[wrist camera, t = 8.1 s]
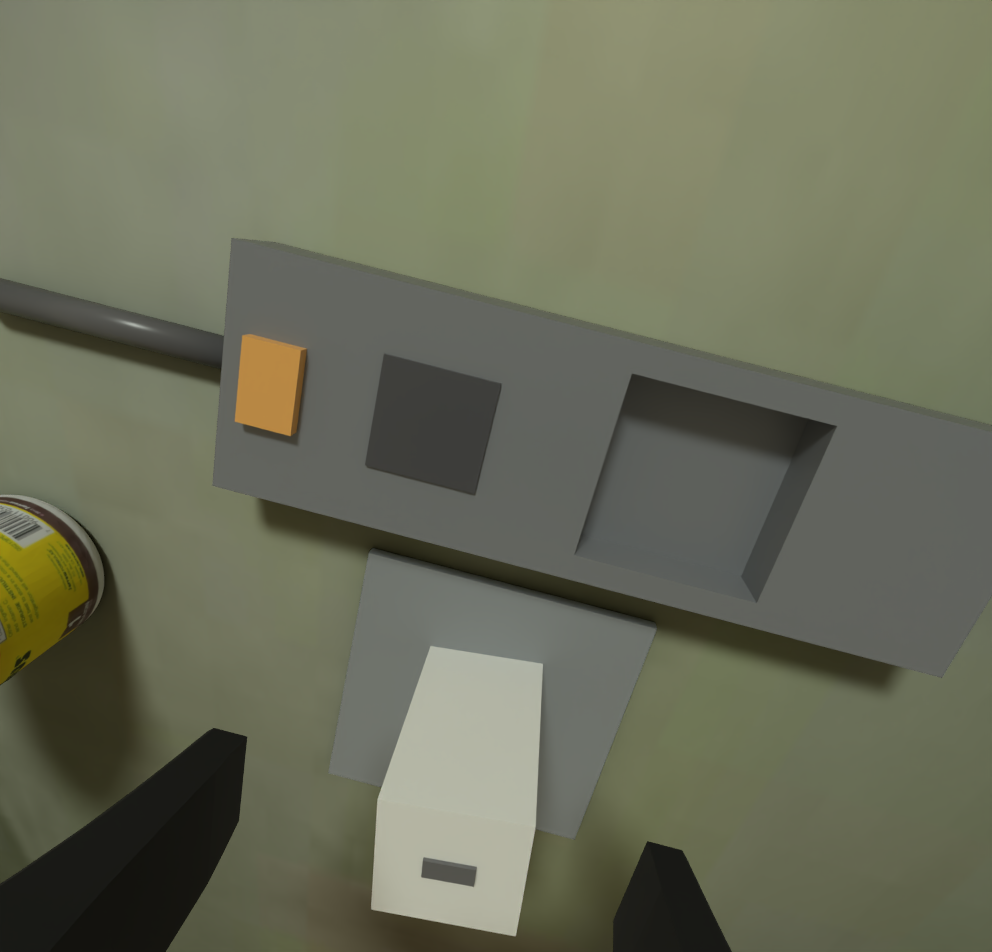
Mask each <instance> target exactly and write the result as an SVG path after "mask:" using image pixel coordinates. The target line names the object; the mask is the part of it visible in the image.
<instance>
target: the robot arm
mask: <svg viewBox="0 0 992 952" xmlns="http://www.w3.org/2000/svg"><path fill="white" fill-rule="evenodd" d="M246 743H247V737H246V736H243V735H239V734H235V733H231V732H227V731H223V730H220V729H216V728H213V729H211V730H209V731H207V732H206V733H205V734H204V735H203V736H201V737H200V738H199V739H198V740H196V741H195V742H194V743H193V744H191V745H190V746H189V747H188V748H187V749H185V750H184V751H183V752H182V753H180V754H179V755H178V756H177V757H175V758H174V759H173V760H172V761H170V762H169V763H168V764H166V765H165V766H164V767H163V768H161V769H160V770H159V771H158V772H156V773H155V774H154V775H152V776H151V777H150V778H149V779H147V780H146V781H145V782H143V783H142V784H141V785H140V786H138V787H137V788H136V789H134V790H133V791H132V792H130V793H129V794H128V795H126V796H125V797H124V798H122V799H121V800H120V801H118V802H117V803H116V804H114V805H113V806H111V807H110V808H109V809H107V810H106V811H105V812H103V813H102V814H101V815H99V816H98V817H97V818H95V819H94V820H93V821H91V822H90V823H89V824H87V825H86V826H84V827H83V828H82V829H80V830H79V831H77V832H76V833H75V834H73V835H72V836H70V837H69V838H67V839H66V840H64V841H63V842H61V843H60V844H59V845H57V846H56V847H54V848H53V849H51V850H50V851H48V852H47V853H45V854H44V855H43V856H41V857H40V858H38V859H37V860H35V861H34V862H32V863H31V864H29V865H28V866H27V867H25V868H24V869H22V870H21V871H19V872H18V873H16V874H15V875H13V876H12V877H10V878H9V879H7V880H5V881H4V882H2V883H1V884H0V952H166V950H167V949H168V947H169V945H170V944H171V942H172V941H173V939H174V937H175V936H176V934H177V933H178V931H179V929H180V928H181V926H182V924H183V923H184V921H185V920H186V918H187V916H188V915H189V913H190V912H191V910H192V908H193V907H194V905H195V903H196V902H197V900H198V899H199V897H200V895H201V894H202V892H203V890H204V889H205V887H206V885H207V884H208V882H209V880H210V878H211V876H212V874H213V872H214V870H215V868H216V866H217V864H218V862H219V860H220V858H221V856H222V854H223V852H224V850H225V848H226V846H227V844H228V842H229V840H230V838H231V836H232V834H233V832H234V830H235V828H236V826H237V823H238V821H239V814H240V804H241V794H242V784H243V773H244V763H245V753H246ZM613 952H732V951H731V949H730V947H729V945H728V943H727V941H726V939H725V937H724V935H723V933H722V931H721V929H720V927H719V925H718V923H717V921H716V919H715V917H714V915H713V913H712V911H711V909H710V907H709V905H708V902H707V900H706V898H705V896H704V894H703V892H702V890H701V888H700V886H699V884H698V881H697V879H696V877H695V875H694V873H693V871H692V869H691V867H690V865H689V862H688V860H687V858H686V856H685V855H684V853H683V851H682V850H679V849H675V848H671V847H667V846H663V845H660V844H656V843H652V842H648V841H647V843H646V846H645V848H644V850H643V853H642V855H641V857H640V860H639V862H638V864H637V866H636V869H635V871H634V873H633V876H632V878H631V880H630V883H629V885H628V887H627V890H626V892H625V894H624V897H623V899H622V901H621V904H620V906H619V908H618V911H617V913H616V915H615V918H614V920H613Z"/></svg>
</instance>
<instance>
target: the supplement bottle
mask: <svg viewBox="0 0 992 952" xmlns="http://www.w3.org/2000/svg"><path fill="white" fill-rule="evenodd" d="M103 589H104V571H103V565H102V561H101V558H100V555H99V553H98V551H97V549H96V547H95V545H94V543H93V542H92V540H91V538H90V537H89V536H88V534H87V533H86V532H85V531H84V529H83V528H82V527H81V526H80V525H79V524H78V523H77V522H76V521H75V520H74V519H72V518H71V517H70V516H69V515H67V514H66V513H65V512H63V511H62V510H60V509H58V508H57V507H55V506H53V505H51V504H49V503H46V502H44V501H41V500H39V499H35V498H32V497H27V496H21V495H0V685H1V684H3V683H4V682H6V681H7V680H9V679H10V678H11V677H12V676H14V675H15V674H16V673H17V672H19V671H20V670H21V669H22V668H24V667H25V666H26V665H28V664H29V663H30V662H32V661H33V660H34V659H36V658H37V657H38V656H40V655H41V654H42V653H44V652H45V651H46V650H48V649H49V648H50V647H52V646H53V645H54V644H56V643H57V642H58V641H60V640H61V639H62V638H64V637H65V636H67V635H68V634H69V633H71V632H72V631H73V630H75V629H76V628H77V627H78V626H79V625H81V624H82V623H83V622H84V621H86V620H87V619H88V618H89V617H90V616H91V614H92V613H93V612H94V610H95V609H96V607H97V606H98V604H99V602H100V599H101V596H102V593H103Z"/></svg>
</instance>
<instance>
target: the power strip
mask: <svg viewBox="0 0 992 952" xmlns="http://www.w3.org/2000/svg"><path fill="white" fill-rule="evenodd" d="M0 312H3V313H7V314H11V315H15V316H19V317H22V318H26V319H30V320H34V321H38V322H42V323H46V324H49V325H53V326H57V327H61V328H65V329H69V330H73V331H76V332H80V333H84V334H88V335H92V336H96V337H99V338H103V339H107V340H111V341H115V342H119V343H123V344H126V345H130V346H134V347H138V348H142V349H146V350H150V351H153V352H157V353H161V354H165V355H169V356H173V357H176V358H180V359H184V360H188V361H192V362H196V363H200V364H203V365H207V366H211V367H215V368H219V369H221V382H220V395H219V408H218V421H217V434H216V447H215V460H214V473H213V486H216V487H219V488H223V489H227V490H231V491H234V492H238V493H242V494H246V495H250V496H253V497H257V498H261V499H265V500H269V501H272V502H276V503H280V504H284V505H288V506H291V507H295V508H299V509H303V510H307V511H310V512H314V513H318V514H322V515H326V516H329V517H333V518H337V519H341V520H345V521H348V522H352V523H356V524H360V525H364V526H367V527H371V528H375V529H379V530H383V531H386V532H390V533H394V534H398V535H402V536H405V537H409V538H413V539H417V540H421V541H424V542H428V543H432V544H436V545H440V546H443V547H447V548H451V549H455V550H459V551H462V552H466V553H470V554H474V555H477V556H481V557H485V558H489V559H493V560H496V561H500V562H504V563H508V564H512V565H515V566H519V567H523V568H527V569H531V570H534V571H538V572H542V573H546V574H550V575H553V576H557V577H561V578H565V579H569V580H572V581H576V582H580V583H584V584H588V585H591V586H595V587H599V588H603V589H607V590H610V591H614V592H618V593H622V594H626V595H629V596H633V597H637V598H641V599H645V600H648V601H652V602H656V603H660V604H664V605H667V606H671V607H675V608H679V609H683V610H686V611H690V612H694V613H698V614H702V615H705V616H709V617H713V618H717V619H720V620H724V621H728V622H732V623H736V624H739V625H743V626H747V627H751V628H755V629H758V630H762V631H766V632H770V633H774V634H777V635H781V636H785V637H789V638H793V639H796V640H800V641H804V642H808V643H812V644H815V645H819V646H823V647H827V648H831V649H834V650H838V651H842V652H846V653H850V654H853V655H857V656H861V657H865V658H869V659H872V660H876V661H880V662H884V663H888V664H891V665H895V666H899V667H903V668H907V669H910V670H914V671H918V672H922V673H926V674H929V675H933V676H937V677H941V678H942V677H943V675H944V674H945V672H946V670H947V669H948V667H949V665H950V664H951V662H952V660H953V659H954V657H955V656H956V654H957V652H958V651H959V649H960V647H961V646H962V644H963V642H964V641H965V639H966V637H967V636H968V634H969V633H970V631H971V629H972V628H973V626H974V624H975V623H976V621H977V619H978V618H979V616H980V614H981V613H982V611H983V610H984V608H985V606H986V605H987V603H988V601H989V600H990V598H991V596H992V425H989V424H985V423H981V422H977V421H973V420H969V419H965V418H961V417H957V416H953V415H950V414H946V413H942V412H938V411H934V410H930V409H926V408H922V407H918V406H914V405H910V404H906V403H903V402H899V401H895V400H891V399H887V398H883V397H879V396H875V395H871V394H867V393H863V392H859V391H856V390H852V389H848V388H844V387H840V386H836V385H832V384H828V383H824V382H820V381H816V380H813V379H809V378H805V377H801V376H797V375H793V374H789V373H785V372H781V371H777V370H773V369H769V368H766V367H762V366H758V365H754V364H750V363H746V362H742V361H738V360H734V359H730V358H726V357H722V356H719V355H715V354H711V353H707V352H703V351H699V350H695V349H691V348H687V347H683V346H679V345H675V344H672V343H668V342H664V341H660V340H656V339H652V338H648V337H644V336H640V335H636V334H632V333H628V332H625V331H621V330H617V329H613V328H609V327H605V326H601V325H597V324H593V323H589V322H585V321H581V320H578V319H574V318H570V317H566V316H562V315H558V314H554V313H550V312H546V311H542V310H538V309H534V308H531V307H527V306H523V305H519V304H515V303H511V302H507V301H503V300H499V299H495V298H491V297H487V296H484V295H480V294H476V293H472V292H468V291H464V290H460V289H456V288H452V287H448V286H444V285H440V284H437V283H433V282H429V281H425V280H421V279H417V278H413V277H409V276H405V275H401V274H397V273H393V272H390V271H386V270H382V269H378V268H374V267H370V266H366V265H362V264H358V263H354V262H350V261H346V260H343V259H339V258H335V257H331V256H327V255H323V254H319V253H315V252H311V251H307V250H303V249H300V248H296V247H292V246H288V245H284V244H280V243H276V242H269V241H258V240H248V239H237V238H232V240H231V253H230V266H229V279H228V292H227V304H226V317H225V330H224V336H222V335H218V334H214V333H211V332H207V331H203V330H199V329H195V328H191V327H187V326H184V325H180V324H176V323H172V322H168V321H164V320H160V319H157V318H153V317H149V316H145V315H141V314H137V313H133V312H129V311H126V310H122V309H118V308H114V307H110V306H106V305H102V304H99V303H95V302H91V301H87V300H83V299H79V298H75V297H71V296H68V295H64V294H60V293H56V292H52V291H48V290H44V289H41V288H37V287H33V286H29V285H25V284H21V283H17V282H13V281H10V280H6V279H2V278H0Z"/></svg>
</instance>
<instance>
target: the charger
mask: <svg viewBox="0 0 992 952" xmlns="http://www.w3.org/2000/svg"><path fill="white" fill-rule="evenodd" d="M542 674H543V664H541V663H535V662H529V661H522V660H516V659H510V658H503V657H497V656H491V655H484V654H478V653H472V652H466V651H459V650H453V649H447V648H440V647H434V646H430V649H429V652H428V655H427V658H426V661H425V664H424V666H423V669H422V672H421V675H420V678H419V681H418V684H417V687H416V690H415V692H414V695H413V698H412V701H411V704H410V707H409V710H408V713H407V716H406V718H405V721H404V724H403V727H402V730H401V733H400V736H399V739H398V742H397V744H396V747H395V750H394V753H393V756H392V759H391V762H390V765H389V768H388V771H387V773H386V776H385V779H384V782H383V785H382V788H381V791H380V794H379V797H378V800H377V817H376V834H375V851H374V867H373V884H372V901H371V910H377V911H382V912H387V913H393V914H398V915H404V916H409V917H414V918H420V919H425V920H430V921H436V922H441V923H446V924H452V925H457V926H463V927H468V928H473V929H479V930H484V931H489V932H495V933H500V934H505V935H511V936H516V932H517V927H518V921H519V916H520V910H521V905H522V899H523V894H524V888H525V883H526V877H527V872H528V866H529V861H530V855H531V850H532V844H533V838H534V833H535V827H536V807H537V785H538V763H539V741H540V719H541V696H542Z"/></svg>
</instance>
